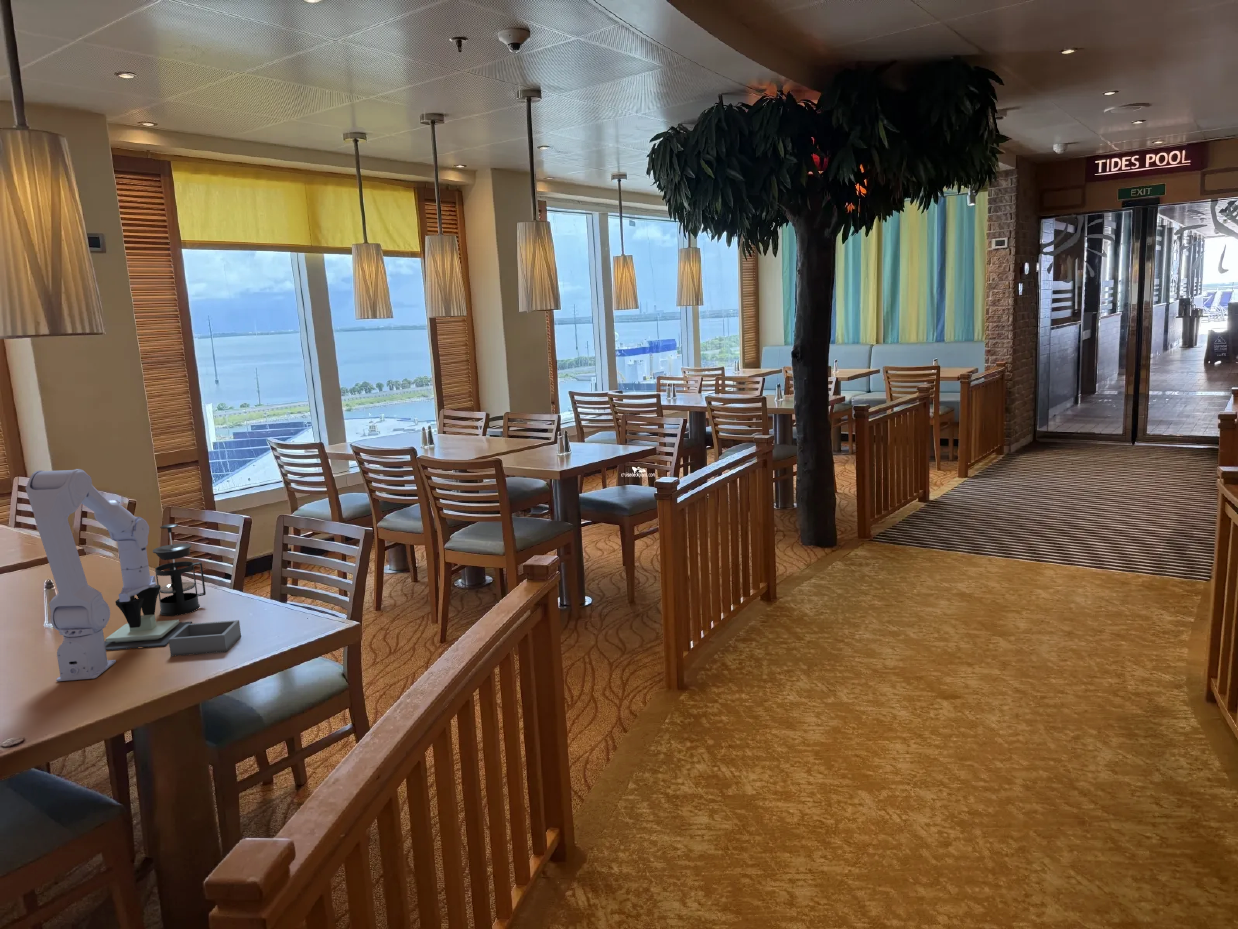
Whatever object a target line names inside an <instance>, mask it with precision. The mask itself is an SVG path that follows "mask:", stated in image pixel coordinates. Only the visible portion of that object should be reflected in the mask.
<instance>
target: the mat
mask: <svg viewBox="0 0 1238 929" xmlns="http://www.w3.org/2000/svg"><path fill="white" fill-rule="evenodd" d="M191 623H192V624H193V621H182V622H181V621H179V624H177V625H176V626H175V627H174V628H173V629H171V630H170V631H169V632H168V633H166V634H165V635H164V636H163V637H162V638H159V639H156V640H143V641H130V642H115V641H112V642H106V640H104V641H105V648H106V650H111V651H121V650H120V649H124V650H131V649H130V648H137V649H139V648H138V647H150V648H158V647H159V648H161V647H160V646H163V647H166V646H168V645H169V644H168V643H169V638H171V637H172V636H173V635H174V634H175V633H176V632H178V631H179V630H180V629H181V628H182V627H183V626H185V625H186V624H191Z"/></svg>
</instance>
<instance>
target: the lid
mask: <svg viewBox="0 0 1238 929" xmlns="http://www.w3.org/2000/svg"><path fill="white" fill-rule="evenodd" d="M179 622H180V619H171V620H156V614H154V615H142V614H141V625H140V627H136V628H130V626H129V624H128V622H127V623H125V624H123V625H122V626H120V628H118V629H117V630H116V631H114V632H113V633H111V634H110V635H108V636H107V637H106V638H104V641H106V642H112V641H115V642H130V641H143V640H156V639H159V638H162V637H163V636H164V635H165V634H166V633H168V632H169V631H170V630H171V629H173V628H174V627H175V626H176V625H177V624H179Z"/></svg>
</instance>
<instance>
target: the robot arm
mask: <svg viewBox="0 0 1238 929" xmlns="http://www.w3.org/2000/svg"><path fill="white" fill-rule="evenodd" d="M24 490H25V491H26V492H25V493H26V494H27V498H28V501H29V504H30V507H31V510H32V513H33V516H34V519H35V520H34V521H35V524H36V528H37V530H38V533H39V537H40V539H41V542H42V545H43V549H44V551H45V552H44V553H45V555H46V559H47V562H48V564H49V567H50V571H51V573H52V577H53V579H54V583H55V586H56V589H57V592H58V593H56V595H55V596H53V597H52V598H51V600H50V601H49V602H48V605H49V609H50V618H49V619H50V624H51V626H52V627H53V628H54V629H55V630H56V631H58V633H59V636H62V637H63V640H62V642H61V644H60V645H59V646H58V648H57V652H56V657H57V665H58V669H59V675H60V676H58V677H57V678H56V680H55V681H56V682H65V681H77V680H78V681H79V680H90V679H92V680H93V679H97V678H98V677H99V676H101V674H103V673H104V672H105V671H106V670H108V669H109V668H110V667H111V666H113V665H114V664H115V663H116V662H117V660H116V659H109V660H108V656H107V651H106V648H105V641H106V640H105V636H104V635H105V634H104V629H105V628H106V627H107V625H108V623H109V621H110V618H111V608H110V606H109V604H108V602H107V601H106V600H105V599H104V597H103V594H102V592H100V591H99V590H97V589H96V588H94V587H92V586H90V585H89V584H88V581H87V577H86V574H85V571H84V570H85V569H84V568H83V565H82V561H81V558H80V554H79V552H78V548H77V545H76V542H75V538H74V535H73V532H72V529H71V526H70V523H69V517H70V515H72V514H73V513H76V511H77V510H78V509H79V508H80V506H81V505H83V506H84V507H86V508H88V509H89V510H90V511H92V512H93V516H94V519H95V521H97V522H98V523H99V524H101V525H102V526H103V527H105V528H106V529H107V532H108V533H109V534H108V535H109V537H110V539H111V540H112V541H114V542H116V544H117V550H118V558H119V565H120V573H121V577H122V585H123V586H122V587H121V588H122V589H121V590H120V593H118V599H116V600H115V606H116V607H118V609H119V610H120V611H121V613H122V615H123V616H124V618H125V620H126V622H127V623H128V624H129V626H130V628H136V627H140V625H141V615H142V614H143V615H154V614H155V613H156V606H157V600H158V597H159V594H158V593H159V591H160V589H161V585H160V584H159V585H157V580H156V575H151V573H150V566H149V560H148V550H147V547H148V545H149V540H148V539H149V534H150V525H149V524H148V522H147V520H146V519H144V518H143V517H141V516H135V515H133V513H132V512H130V511H129V510H128V509H126V508H125V507H124V506H123V505H122V504H120V503H121V502H120V501H119V500H118V499H107V498H106V497H105V496H103V494H101V493H100V492H99V490H98V489H97V488H96V487H95V486H94V485H93V480H92V476H90V475H89V474H88V473H87V471H85V470H83V469H81V468H75V469H68V470H67V469H66V470H63V469H62V470H36V471H34V472H33V473H32V474H31V475H30V477H29V479H28V481H27V484H26V486H25V489H24ZM135 596H136V597H135ZM155 615H156V614H155Z"/></svg>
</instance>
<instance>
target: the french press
mask: <svg viewBox="0 0 1238 929" xmlns="http://www.w3.org/2000/svg"><path fill="white" fill-rule="evenodd" d="M178 526H179V524H178V523H169V524H163V525H161V526H159V528H160V529H161V530H162V529H167V533H168V534H169V541H170V544H166V545H162V546H159V547H156V548H154V549H152V553H153V554H155V555H156V556H157V557H158V558H159V559H161V560H164V561H171V560H172V562H168V563H163V564H161V565H158V566H156V567H155V569H154V572H155V580H156V585H160V584H159V577H160V576H161V577H169V576H170V583H169V584H167V585H166V584H165V585H163V586H162V587H161V589H160V591H159V593H158V600H159V608H160V610H159V614H160V615H161V616H163V615H164V617H176V616H175V615H177V616H182V615H181V614H183V615H186V614H185V613H187V614H190V612H191V613H193V612H195V611H194V610H196V609H198V608H199V607H201V605H200V603H199V597H202V596H206V594H207V593H206V585H205V578H204V577H205V576H204V570H203V569H204V568H203V564H202V561H197V562H193V561H190V560H189V561H188V560H187V561H186V560H184V561H175V560H177V559H181V558H185V557H187V556H190V554H191V548H192V544H190V543H174V544H173V539H172V532H173V528H176V527H178ZM198 565H199V568H200V576H201V583H202V584H201V585H202V591H203V592H200V593H198V588H197V581H196V572H195V566H198ZM178 567H179V568H178ZM180 567H183V568H180ZM167 569H169V570H167ZM190 571H191V572H192V573H193V581H194V582H192V581H191V582H190V581H183V578H182V574H185V573H189V572H190ZM192 589H195V590H194V591H195V592H187V591H189V590H192ZM161 594H165V595H166V594H171V595H168V596H164V597H162V598H161ZM199 609H200V608H199ZM199 609H198V610H199ZM192 611H193V612H192ZM196 611H197V610H196Z"/></svg>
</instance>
